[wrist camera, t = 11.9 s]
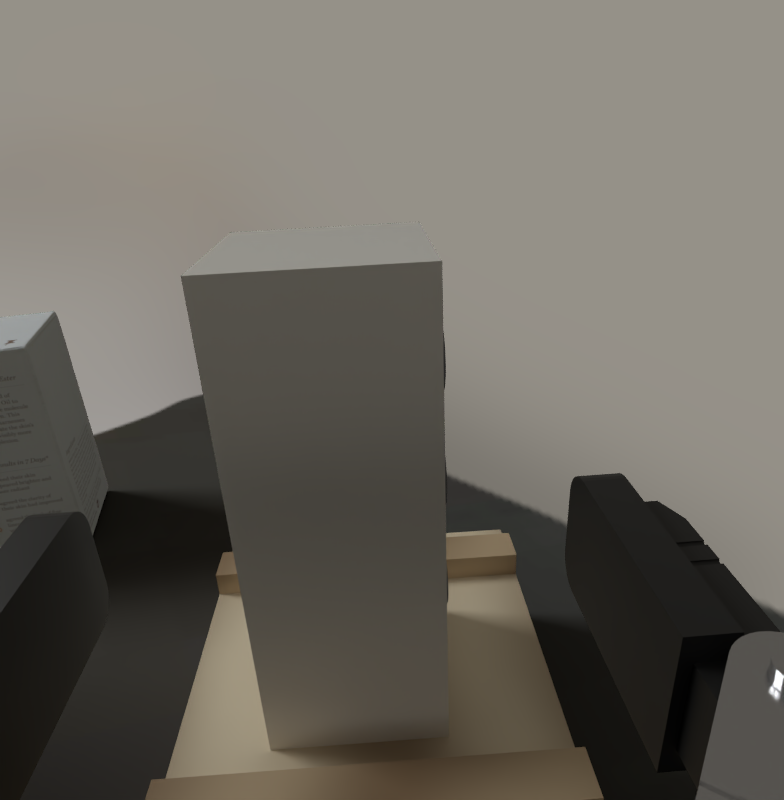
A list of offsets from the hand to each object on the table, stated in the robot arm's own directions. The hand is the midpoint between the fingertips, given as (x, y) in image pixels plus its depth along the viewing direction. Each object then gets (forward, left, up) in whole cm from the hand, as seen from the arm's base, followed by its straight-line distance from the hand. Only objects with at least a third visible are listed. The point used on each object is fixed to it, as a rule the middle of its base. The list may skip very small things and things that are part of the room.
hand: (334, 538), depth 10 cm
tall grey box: (0, +4, -8) cm, 9 cm away
